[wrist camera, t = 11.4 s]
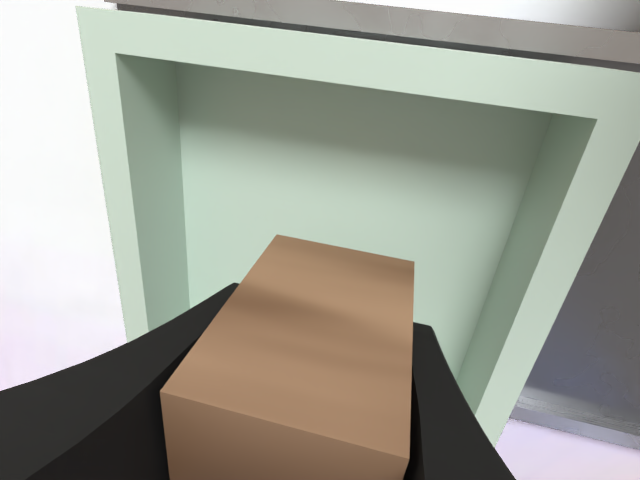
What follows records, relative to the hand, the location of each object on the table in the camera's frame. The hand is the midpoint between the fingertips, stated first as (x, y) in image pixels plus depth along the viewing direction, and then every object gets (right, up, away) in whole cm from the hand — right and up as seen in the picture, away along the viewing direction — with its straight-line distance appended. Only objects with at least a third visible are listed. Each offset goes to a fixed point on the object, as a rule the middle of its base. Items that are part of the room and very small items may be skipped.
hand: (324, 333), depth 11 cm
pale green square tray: (+1, +3, +7) cm, 8 cm away
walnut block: (0, +1, +2) cm, 2 cm away
